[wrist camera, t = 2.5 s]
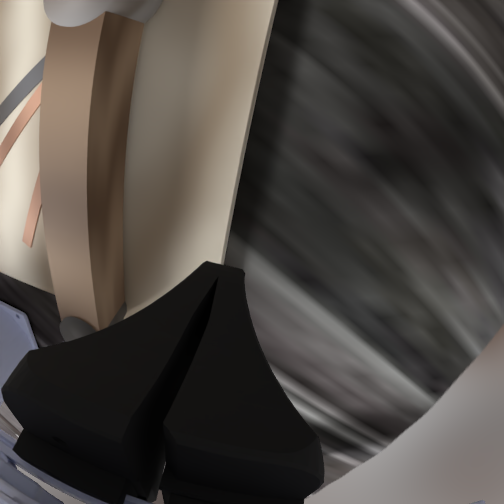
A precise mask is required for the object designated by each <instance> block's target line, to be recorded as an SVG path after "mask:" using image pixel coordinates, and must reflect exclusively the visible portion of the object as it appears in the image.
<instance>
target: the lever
mask: <svg viewBox="0 0 504 504" xmlns="http://www.w3.org/2000/svg"><path fill="white" fill-rule="evenodd" d="M162 1H163V0H43V5H44V10H45V13H46V15H47V17H48V18H49V19H50V21H51V26H50V31H49V37H48V43H47V49H46V55H45V63H44V71H43V80H42V90H41V103H40V122H39V170H40V190H41V204H42V215H43V224H44V232H45V240H46V247H47V254H48V260H49V266H50V272H51V277H52V282H53V287H54V292H55V297H56V301H57V306H58V310H59V314H60V318H61V323H60V332H61V335H62V337H63V339H64V340H65V341H66V342H68V341H71V340H74V339H77V338H80V337H84V336H86V335H89V334H92V333H95V332H97V331H100V330H102V329H104V328H106V327H109V326H111V325H113V324H115V323H118V322H120V321H122V320H123V318H124V316H125V315H126V313H127V305H126V302H125V291H124V268H123V198H124V175H125V159H126V145H127V134H128V124H129V115H130V106H131V98H132V91H133V84H134V77H135V71H136V65H137V59H138V53H139V48H140V43H141V38H142V33H143V28H144V23H146V22H147V21H148V20H149V19H150V18H151V17H152V16H153V15H154V14H155V13H156V11H157V10H158V9H159V7H160V5H161V3H162Z"/></svg>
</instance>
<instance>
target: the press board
mask: <svg viewBox="0 0 504 504" xmlns="http://www.w3.org/2000/svg"><path fill="white" fill-rule="evenodd" d="M277 4H278V0H163V1H162V3H161V5H160V7H159V9H158V10H157V11H156V13H155V14H154V15H153V16H152V17H151V18H150V19H149V20H148V21H147V22H146V23H144V28H143V33H142V38H141V43H140V48H139V53H138V59H137V65H136V71H135V77H134V84H133V91H132V98H131V106H130V115H129V124H128V134H127V145H126V159H125V175H124V198H123V268H124V291H125V302H126V305H127V313H126V315H125V316H124V318H123V319H126V318H128V317H129V316H131V315H133V314H135V313H137V312H138V311H140V310H142V309H143V308H145V307H147V306H148V305H150V304H151V303H153V302H154V301H156V300H157V299H159V298H160V297H161V296H163V295H164V294H166V293H167V292H169V291H170V290H171V289H173V288H174V287H175V286H176V285H178V284H179V283H180V282H181V281H183V280H184V279H185V278H186V277H187V276H189V275H190V274H191V273H192V272H193V271H194V270H196V269H197V268H198V267H199V266H200V265H201V264H202V263H203V262H205V261H209V262H213V263H218V264H222V265H224V259H225V254H226V248H227V243H228V238H229V232H230V227H231V222H232V216H233V211H234V206H235V201H236V195H237V190H238V185H239V180H240V175H241V170H242V165H243V160H244V155H245V150H246V145H247V140H248V135H249V130H250V126H251V121H252V116H253V111H254V107H255V102H256V97H257V93H258V88H259V83H260V79H261V74H262V70H263V65H264V61H265V56H266V52H267V47H268V43H269V39H270V34H271V30H272V26H273V21H274V17H275V13H276V9H277ZM50 26H51V21H50V19H49V18H48V17H47V15H46V13H45V10H44V5H43V0H0V272H1V273H4V274H6V275H8V276H10V277H13V278H15V279H17V280H20V281H22V282H24V283H27V284H29V285H32V286H34V287H37V288H39V289H41V290H44V291H47V292H49V293H52V294H54V295H55V292H54V287H53V282H52V277H51V272H50V266H49V260H48V254H47V247H46V240H45V232H44V224H43V215H42V204H41V190H40V170H39V122H40V103H41V90H42V80H43V71H44V63H45V55H46V49H47V43H48V37H49V31H50Z"/></svg>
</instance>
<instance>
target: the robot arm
mask: <svg viewBox="0 0 504 504" xmlns="http://www.w3.org/2000/svg"><path fill="white" fill-rule="evenodd" d="M244 276H245V272H244V271H243V269H239V268H234V267H230V266H226V265H222V264H218V263H213V262H209V261H205V262H203V263H202V264H201V265H200V266H199V267H198V268H197V269H196V270H194V271H193V272H192V273H191V274H190V275H189V276H187V277H186V278H185V279H184V280H183V281H181V282H180V283H179V284H178V285H176V286H175V287H174V288H173V289H171V290H170V291H169V292H167V293H166V294H164V295H163V296H161V297H160V298H159V299H157V300H156V301H154V302H153V303H151V304H150V305H148V306H147V307H145V308H143V309H142V310H140V311H138V312H137V313H135V314H133V315H131V316H129V317H128V318H126V319H124V320H122V321H120V322H118V323H115V324H113V325H111V326H109V327H106V328H104V329H102V330H100V331H97V332H95V333H92V334H89V335H86V336H84V337H80V338H77V339H74V340H71V341H68V342H64V343H61V344H56V345H52V346H48V347H43V348H38V346H37V343H36V340H35V337H34V335H33V332H32V329H31V326H30V323H29V320H28V317H27V315H26V314H25V313H24V312H22V311H20V310H18V309H16V308H14V307H12V306H10V305H8V304H6V303H4V302H2V301H0V406H1V404H2V402H3V401H5V403H6V405H7V406H8V408H9V409H10V411H11V412H12V413H13V415H14V416H15V417H16V419H17V420H18V421H19V423H20V424H21V425H22V427H23V428H24V429H23V431H22V433H21V434H20V436H19V438H18V440H16V439H15V438H13V437H12V436H10V435H9V434H7V433H6V432H4V431H3V430H1V429H0V504H64V503H63V502H62V501H60V500H59V499H57V498H55V497H54V496H53V495H51V494H50V493H48V492H47V491H46V490H44V489H43V488H42V487H41V486H40V485H39V484H38V483H36V482H35V481H33V480H32V479H30V478H29V477H27V476H26V475H24V474H23V473H21V472H20V471H19V470H17V467H16V465H17V466H19V467H20V468H22V469H24V470H25V471H27V472H28V473H30V474H32V475H33V476H35V477H36V478H38V479H40V480H42V481H43V482H45V483H47V484H49V485H50V486H52V487H54V488H56V489H58V490H60V491H62V492H63V493H65V494H67V495H69V496H71V497H73V498H75V499H77V500H79V501H82V502H84V503H86V504H153V503H152V502H154V501H156V498H157V494H158V490H159V489H160V490H162V495H163V499H164V504H304V498H306V497H307V496H309V495H310V494H311V493H313V492H314V491H316V490H317V489H318V488H319V487H320V486H321V485H322V484H323V483H324V462H323V455H322V450H321V445H320V441H319V437H318V436H317V435H316V434H315V432H314V431H313V430H312V429H311V428H310V426H309V425H308V424H307V423H306V422H305V420H304V419H303V418H302V416H301V415H300V414H299V413H298V411H297V410H296V408H295V407H294V406H293V404H292V403H291V401H290V400H289V398H288V397H287V395H286V394H285V392H284V390H283V389H282V387H281V385H280V384H279V382H278V380H277V379H276V377H275V375H274V374H273V372H272V370H271V368H270V366H269V364H268V362H267V360H266V358H265V356H264V353H263V351H262V349H261V346H260V344H259V341H258V339H257V336H256V333H255V330H254V327H253V324H252V320H251V317H250V313H249V309H248V304H247V299H246V293H245V284H244ZM165 462H166V465H165ZM15 464H16V465H15ZM164 466H165V468H164ZM163 470H164V471H163ZM162 474H163V475H162ZM471 504H485V501H484V500H481V501H478V502H474V503H471Z"/></svg>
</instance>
